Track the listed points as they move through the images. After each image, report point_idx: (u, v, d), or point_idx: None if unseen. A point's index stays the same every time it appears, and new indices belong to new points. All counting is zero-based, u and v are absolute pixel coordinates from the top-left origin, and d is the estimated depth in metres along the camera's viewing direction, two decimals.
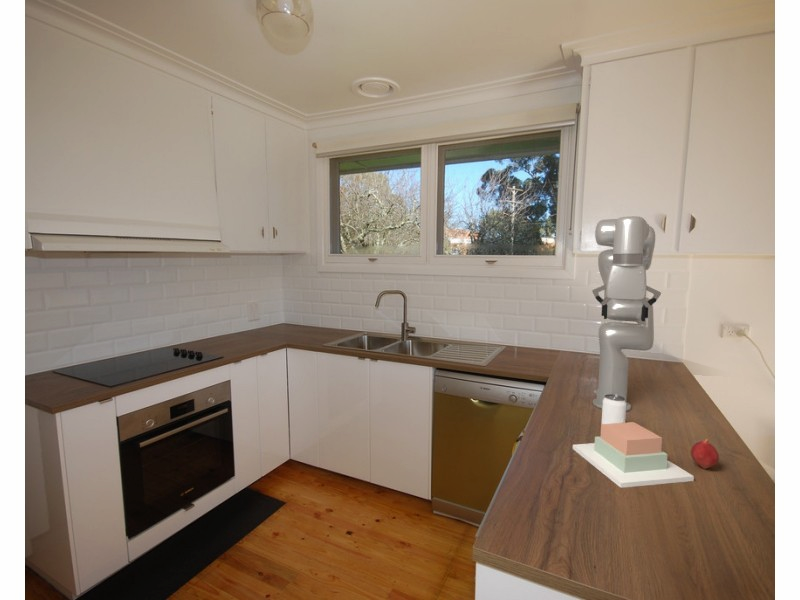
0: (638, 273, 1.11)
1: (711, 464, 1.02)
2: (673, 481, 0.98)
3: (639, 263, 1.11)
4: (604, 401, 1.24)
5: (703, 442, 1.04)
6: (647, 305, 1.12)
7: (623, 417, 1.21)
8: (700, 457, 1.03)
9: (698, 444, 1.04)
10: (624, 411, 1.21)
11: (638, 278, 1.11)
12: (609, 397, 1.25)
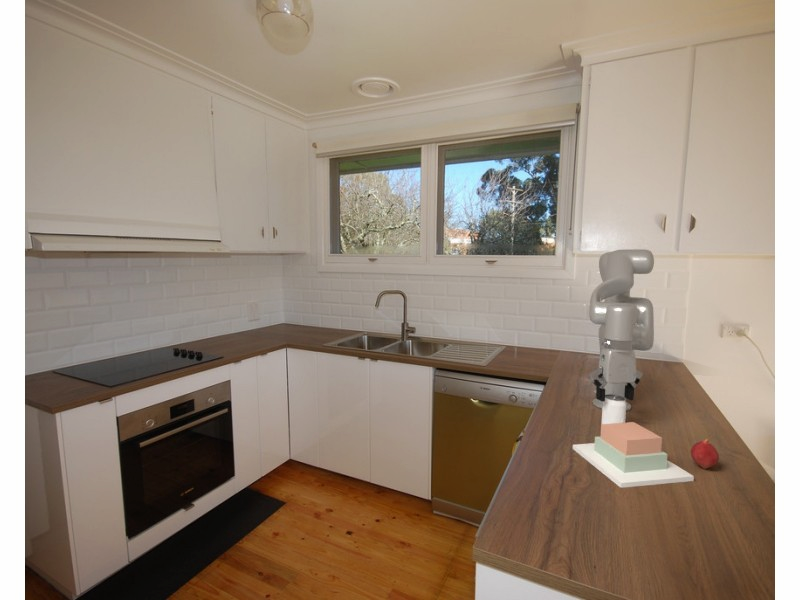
0: None
1: (711, 464, 1.02)
2: (673, 481, 0.98)
3: None
4: (604, 401, 1.24)
5: (703, 442, 1.04)
6: None
7: (623, 417, 1.21)
8: (700, 457, 1.03)
9: (698, 444, 1.04)
10: (624, 411, 1.21)
11: None
12: (609, 397, 1.25)
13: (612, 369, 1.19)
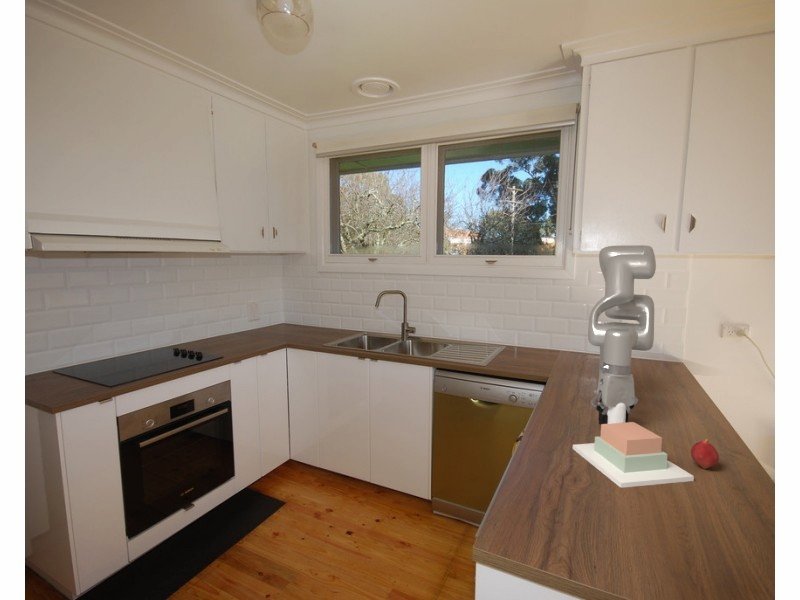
0: None
1: (711, 464, 1.02)
2: (673, 481, 0.98)
3: None
4: None
5: (703, 442, 1.04)
6: None
7: (623, 417, 1.21)
8: (700, 457, 1.03)
9: (698, 444, 1.04)
10: (624, 411, 1.21)
11: None
12: None
13: (611, 393, 1.20)
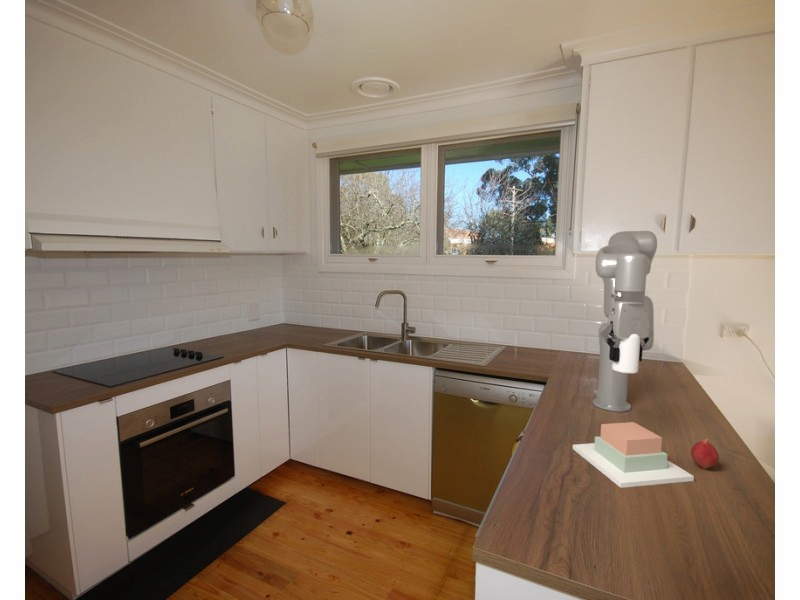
0: None
1: (711, 464, 1.02)
2: (673, 481, 0.98)
3: (613, 299, 1.13)
4: None
5: (703, 442, 1.04)
6: None
7: (637, 350, 1.10)
8: (700, 457, 1.03)
9: (698, 444, 1.04)
10: (638, 343, 1.10)
11: None
12: None
13: (623, 323, 1.09)
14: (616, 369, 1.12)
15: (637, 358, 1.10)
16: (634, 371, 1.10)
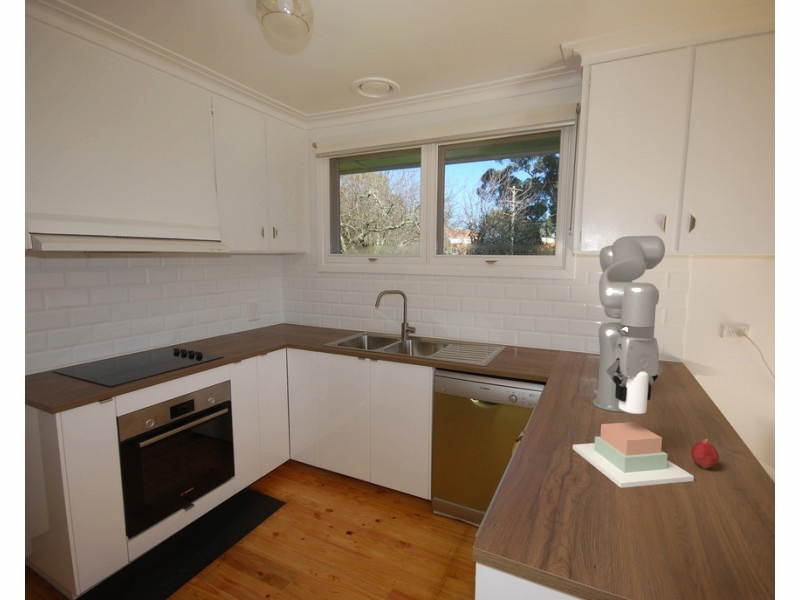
0: None
1: (711, 464, 1.02)
2: (673, 481, 0.98)
3: None
4: None
5: (703, 442, 1.04)
6: None
7: (645, 389, 1.02)
8: (700, 457, 1.03)
9: (698, 444, 1.04)
10: (647, 382, 1.02)
11: None
12: None
13: (631, 360, 1.01)
14: (623, 409, 1.04)
15: (645, 397, 1.02)
16: (642, 411, 1.02)
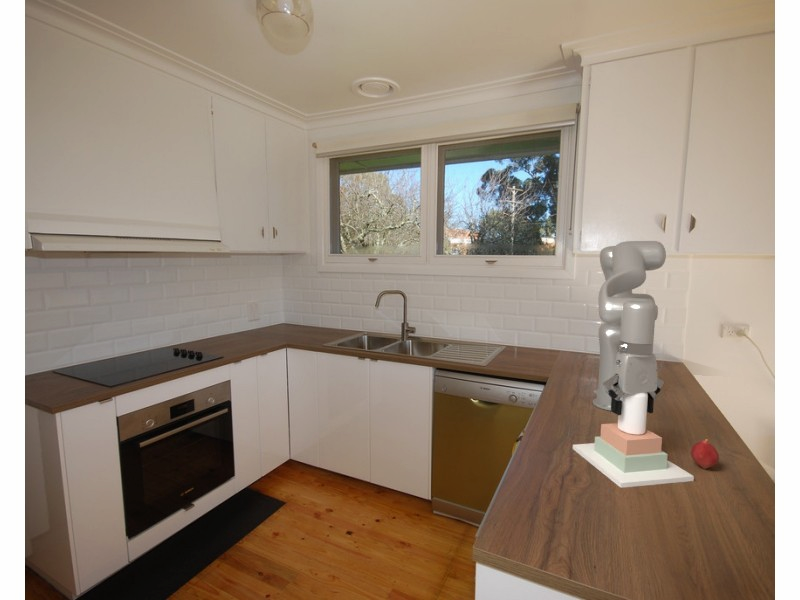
0: None
1: (711, 464, 1.02)
2: (673, 481, 0.98)
3: None
4: None
5: (703, 442, 1.04)
6: None
7: (644, 410, 1.03)
8: (700, 457, 1.03)
9: (698, 444, 1.04)
10: (645, 403, 1.03)
11: None
12: None
13: (630, 377, 1.01)
14: (622, 429, 1.05)
15: (644, 418, 1.03)
16: (641, 432, 1.03)
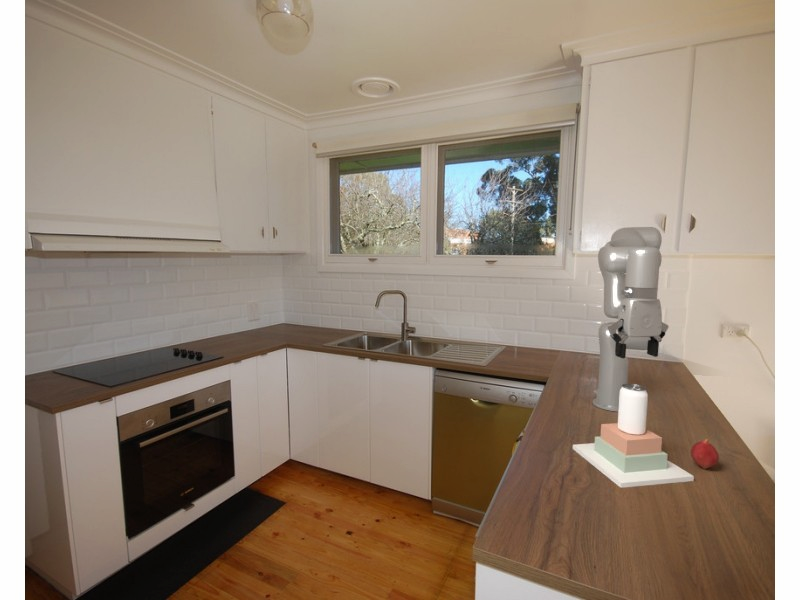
0: None
1: (711, 464, 1.02)
2: (673, 481, 0.98)
3: (624, 295, 1.08)
4: (621, 391, 1.05)
5: (703, 442, 1.04)
6: None
7: (644, 410, 1.03)
8: (700, 457, 1.03)
9: (698, 444, 1.04)
10: (645, 403, 1.03)
11: None
12: (627, 387, 1.06)
13: (634, 321, 1.04)
14: (622, 429, 1.05)
15: (644, 418, 1.03)
16: (641, 432, 1.03)
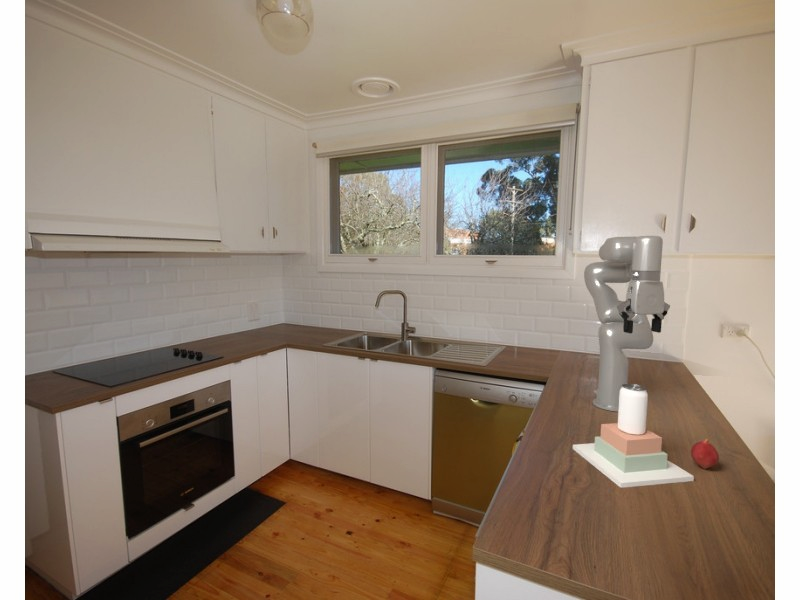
0: None
1: (711, 464, 1.02)
2: (673, 481, 0.98)
3: (631, 279, 1.23)
4: (621, 391, 1.05)
5: (703, 442, 1.04)
6: None
7: (644, 410, 1.03)
8: (700, 457, 1.03)
9: (698, 444, 1.04)
10: (645, 403, 1.03)
11: None
12: (627, 387, 1.06)
13: (640, 300, 1.19)
14: (622, 429, 1.05)
15: (644, 418, 1.03)
16: (641, 432, 1.03)
